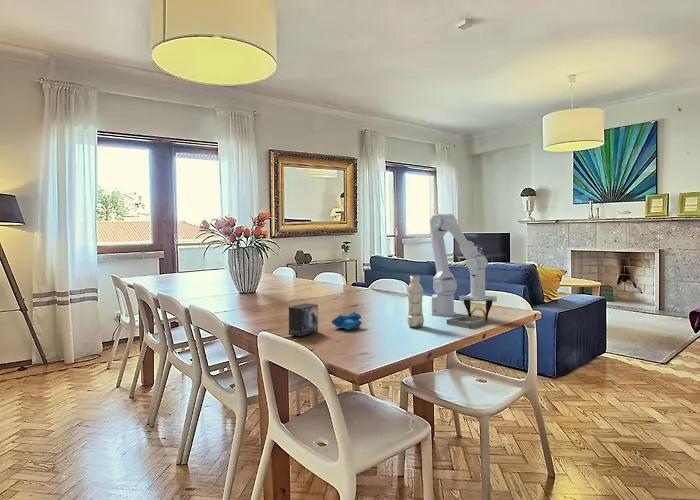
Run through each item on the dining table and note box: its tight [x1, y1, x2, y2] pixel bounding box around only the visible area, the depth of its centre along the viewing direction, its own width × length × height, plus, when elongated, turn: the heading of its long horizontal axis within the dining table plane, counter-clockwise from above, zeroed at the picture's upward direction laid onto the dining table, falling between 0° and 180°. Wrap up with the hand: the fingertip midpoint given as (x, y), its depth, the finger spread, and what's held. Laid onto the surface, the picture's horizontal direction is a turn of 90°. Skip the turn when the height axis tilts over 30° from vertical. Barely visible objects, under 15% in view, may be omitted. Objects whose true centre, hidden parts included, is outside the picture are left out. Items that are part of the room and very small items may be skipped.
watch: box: [471, 306, 486, 319], centre depth 177 cm, size 6×3×6 cm, turn 98°
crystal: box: [330, 312, 363, 331], centre depth 170 cm, size 7×9×12 cm
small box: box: [288, 303, 319, 337], centre depth 164 cm, size 11×6×10 cm, turn 148°
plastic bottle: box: [406, 275, 425, 328], centre depth 170 cm, size 6×7×20 cm
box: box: [446, 315, 487, 330], centre depth 171 cm, size 11×11×2 cm
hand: (478, 318), depth 177 cm, fingers closed on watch, 6 cm apart
